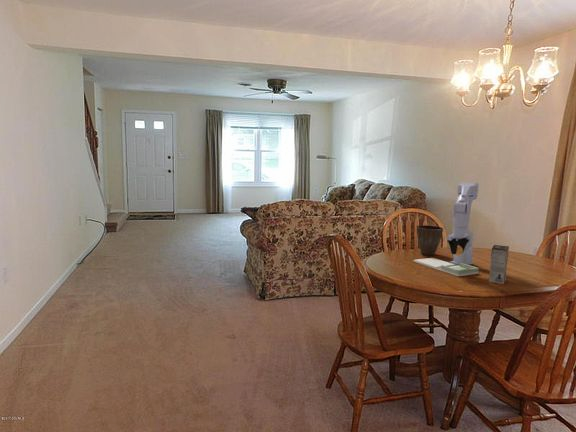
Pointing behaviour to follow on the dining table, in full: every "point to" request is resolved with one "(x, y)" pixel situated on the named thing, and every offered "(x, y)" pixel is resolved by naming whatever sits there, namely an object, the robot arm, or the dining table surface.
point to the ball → (459, 251)
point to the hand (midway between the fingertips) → (457, 253)
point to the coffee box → (498, 264)
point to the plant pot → (429, 238)
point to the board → (448, 267)
